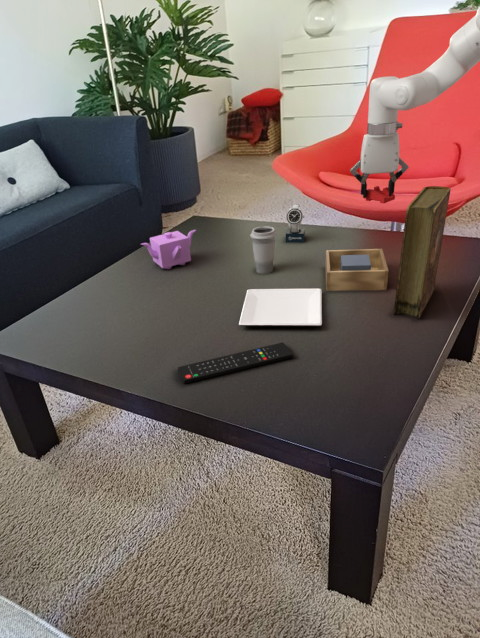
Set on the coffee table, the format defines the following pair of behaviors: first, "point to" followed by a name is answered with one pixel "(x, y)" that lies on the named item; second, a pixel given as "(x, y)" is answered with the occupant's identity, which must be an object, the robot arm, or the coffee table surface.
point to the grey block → (355, 262)
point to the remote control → (233, 362)
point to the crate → (359, 278)
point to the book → (421, 250)
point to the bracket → (379, 195)
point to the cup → (263, 248)
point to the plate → (282, 307)
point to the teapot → (170, 249)
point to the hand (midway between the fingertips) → (376, 195)
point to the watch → (295, 225)
